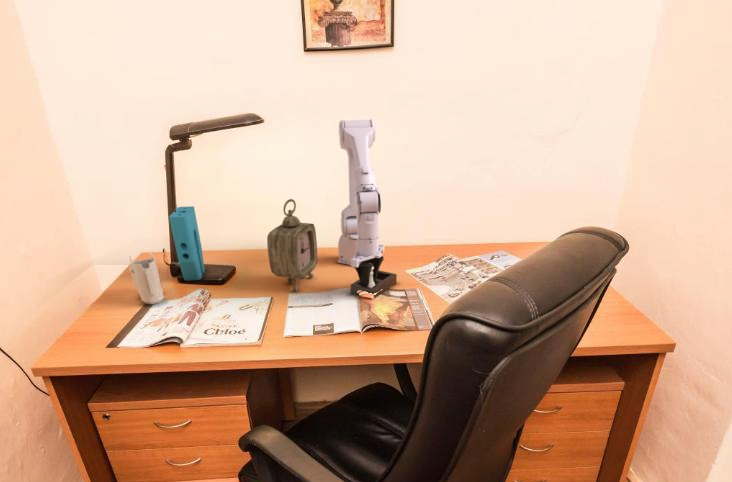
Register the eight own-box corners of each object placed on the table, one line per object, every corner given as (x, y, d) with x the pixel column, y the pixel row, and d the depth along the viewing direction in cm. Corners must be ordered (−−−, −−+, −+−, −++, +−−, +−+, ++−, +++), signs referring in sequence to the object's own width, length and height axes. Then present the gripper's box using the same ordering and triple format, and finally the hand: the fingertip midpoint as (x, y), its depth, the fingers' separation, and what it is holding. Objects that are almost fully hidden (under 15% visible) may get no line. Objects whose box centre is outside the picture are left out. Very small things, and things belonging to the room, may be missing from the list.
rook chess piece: (363, 294, 137) (362, 268, 133) (359, 288, 141) (358, 262, 137) (378, 293, 138) (378, 266, 134) (373, 287, 142) (373, 261, 138)
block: (190, 268, 158) (177, 206, 148) (206, 267, 159) (194, 206, 149) (182, 282, 148) (168, 217, 138) (199, 281, 148) (186, 216, 138)
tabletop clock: (298, 295, 139) (290, 207, 127) (270, 291, 142) (260, 204, 129) (318, 276, 151) (313, 194, 138) (292, 273, 153) (285, 192, 141)
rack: (372, 299, 136) (372, 289, 134) (350, 294, 139) (350, 284, 138) (396, 283, 145) (396, 274, 144) (375, 278, 149) (375, 269, 147)
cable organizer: (159, 288, 144) (150, 250, 138) (167, 304, 135) (157, 263, 129) (135, 293, 141) (125, 254, 135) (141, 309, 132) (130, 267, 126)
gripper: (366, 246, 125) (366, 295, 131) (394, 232, 135) (393, 277, 142) (343, 242, 128) (345, 289, 135) (372, 228, 139) (372, 272, 145)
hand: (368, 283), depth 139 cm, fingers closed on rook chess piece, 3 cm apart
